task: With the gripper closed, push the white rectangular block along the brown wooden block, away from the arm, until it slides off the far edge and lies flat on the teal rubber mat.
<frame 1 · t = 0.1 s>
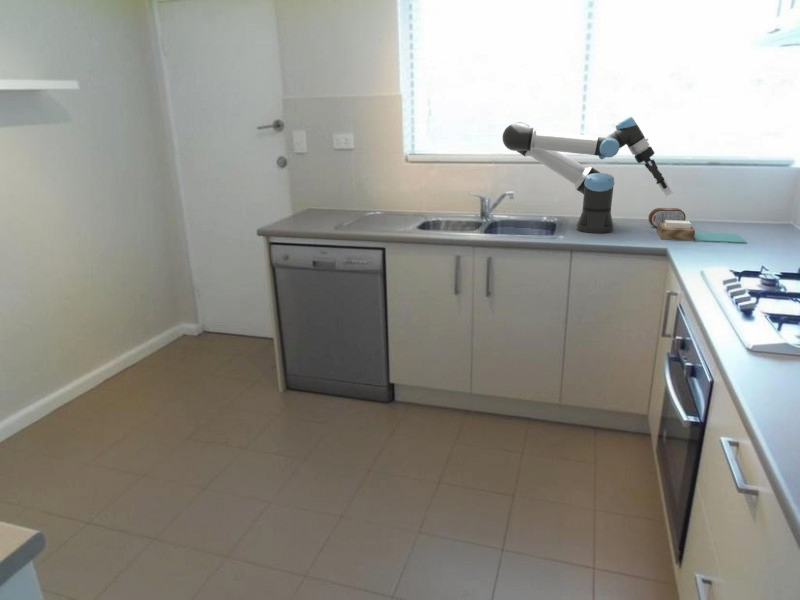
hand: (667, 192, 248), 15 cm above the countertop, tool tilted 35°, fingers open, 13 cm apart
white rectangular block: (677, 226, 233), point 4 cm above the countertop, touching brown wooden block
brown wooden block: (674, 236, 235), on the countertop
tin: (665, 227, 252), on the countertop
mat: (716, 238, 230), on the countertop
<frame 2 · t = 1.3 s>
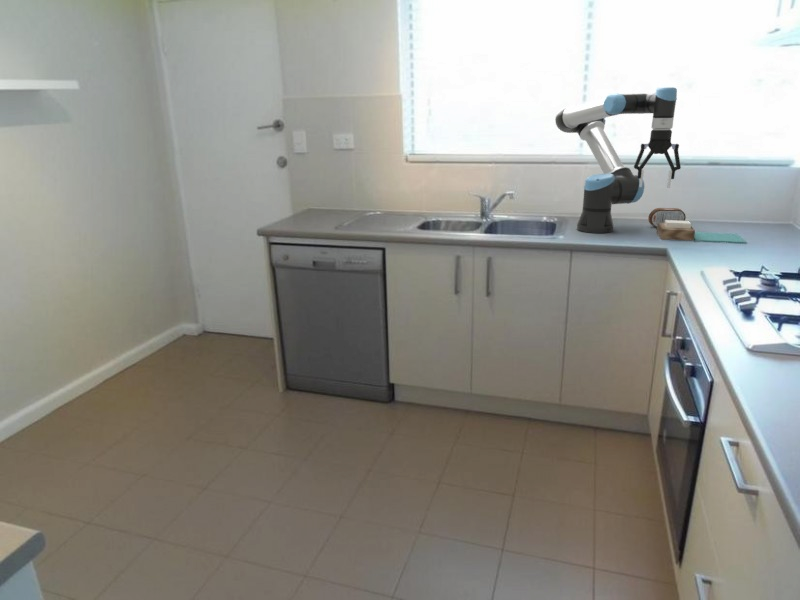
hand: (654, 187, 231), 20 cm above the countertop, tool pointing down, fingers open, 10 cm apart
nothing on the countertop moved.
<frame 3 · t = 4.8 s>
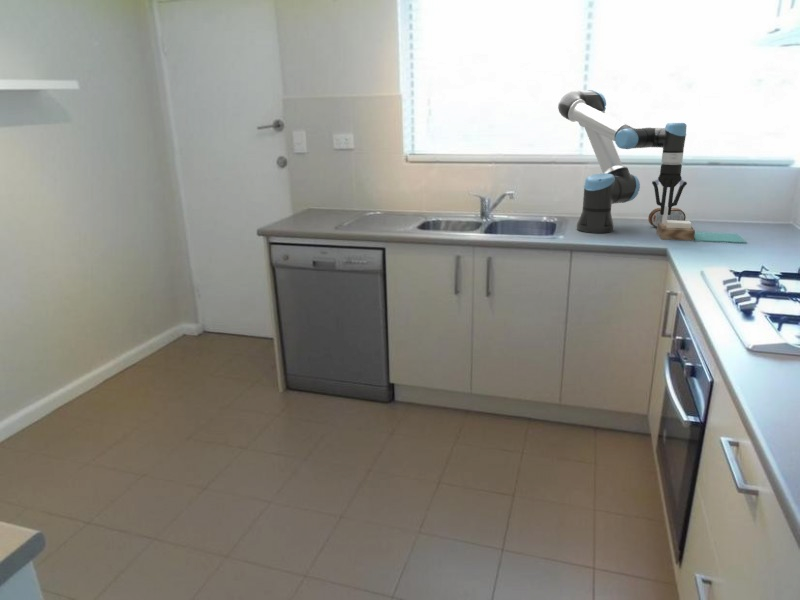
hand: (664, 222, 234), 5 cm above the countertop, tool pointing down, fingers closed
white rectangular block: (677, 226, 233), point 4 cm above the countertop, touching brown wooden block, gripper
everything else where it was.
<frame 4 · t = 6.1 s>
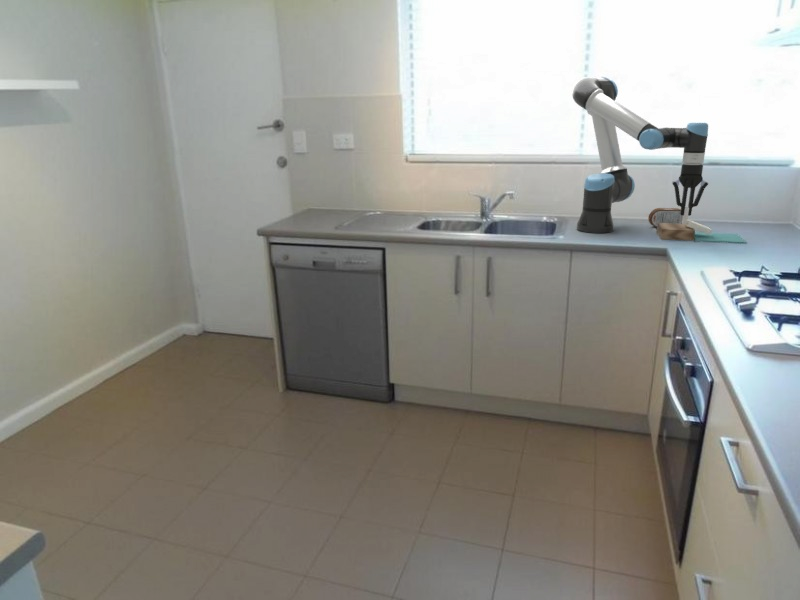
hand: (684, 223, 232), 5 cm above the countertop, tool pointing down, fingers closed
white rectangular block: (697, 229, 231), point 3 cm above the countertop, tilted 20°, touching brown wooden block
everything else where it was.
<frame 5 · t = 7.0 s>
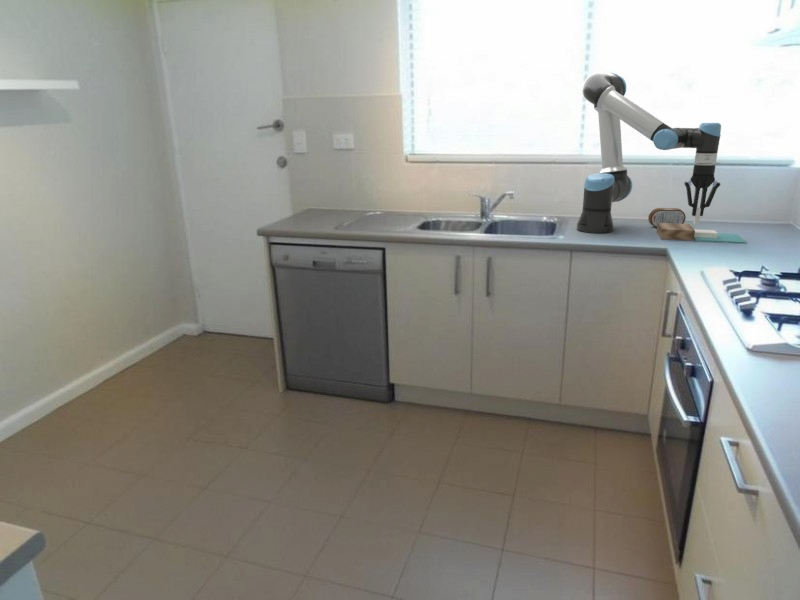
hand: (696, 224, 231), 5 cm above the countertop, tool pointing down, fingers closed
white rectangular block: (703, 236, 231), point 1 cm above the countertop, touching mat
everything else where it was.
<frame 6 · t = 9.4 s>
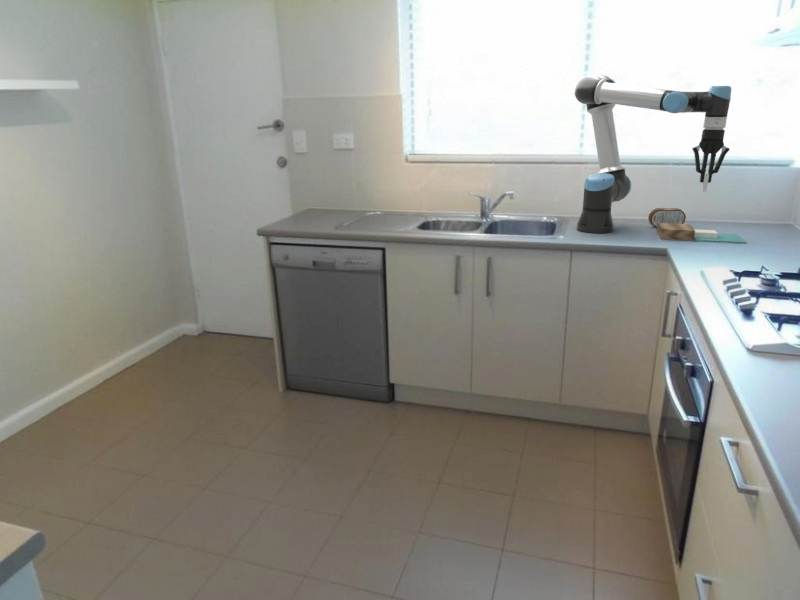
hand: (703, 190, 227), 19 cm above the countertop, tool pointing down, fingers closed
nothing on the countertop moved.
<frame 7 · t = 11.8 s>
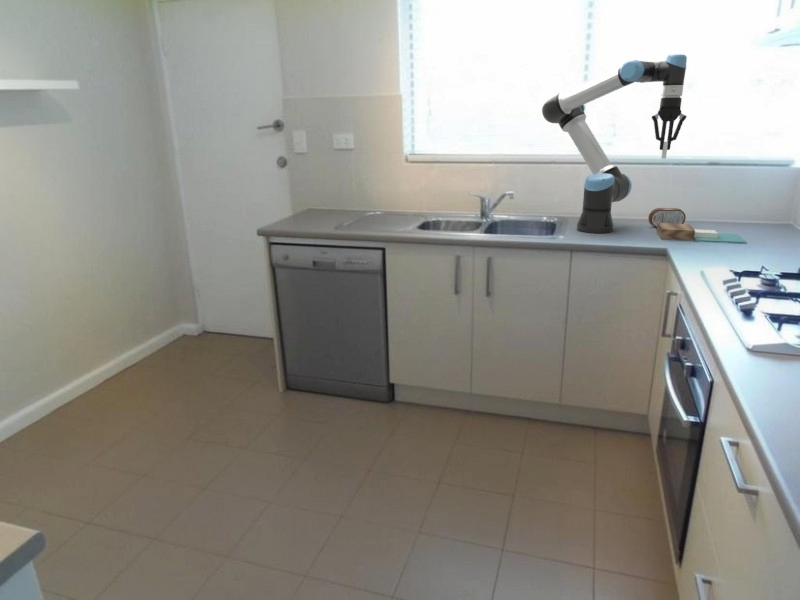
hand: (663, 158, 234), 30 cm above the countertop, tool pointing down, fingers closed
nothing on the countertop moved.
at the end: white rectangular block inside the target area (5.4 cm from its centre), point 0.6 cm above the countertop; white rectangular block tilted 0°; white rectangular block touching mat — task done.
